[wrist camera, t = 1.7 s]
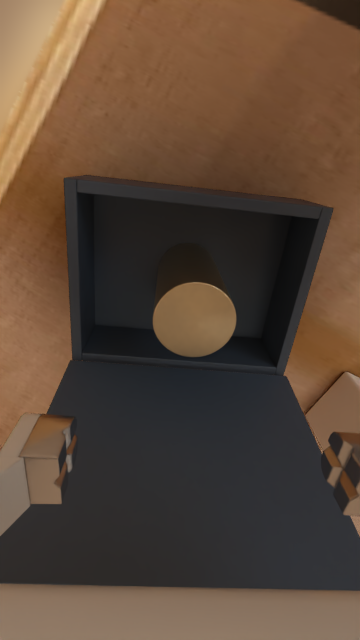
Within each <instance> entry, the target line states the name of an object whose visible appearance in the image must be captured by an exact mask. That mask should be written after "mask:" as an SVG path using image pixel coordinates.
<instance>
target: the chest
mask: <svg viewBox="0 0 360 640" xmlns="http://www.w3.org/2000/svg"><path fill="white" fill-rule="evenodd" d="M64 195H65V216H66V236H67V257H68V278H69V299H70V320H71V340H72V359H73V360H77V361H82V360H83V361H89V362H103V363H116V364H130V365H143V366H157V367H170V368H184V369H197V370H211V371H225V372H238V373H252V374H265V375H278V376H283V375H284V372H285V368H286V365H287V362H288V358H289V355H290V352H291V348H292V345H293V342H294V338H295V335H296V332H297V328H298V325H299V322H300V319H301V315H302V312H303V309H304V305H305V302H306V299H307V295H308V292H309V289H310V285H311V282H312V279H313V275H314V272H315V269H316V266H317V262H318V259H319V256H320V252H321V249H322V246H323V242H324V239H325V236H326V232H327V229H328V226H329V222H330V219H331V216H332V213H333V208H331V207H327V206H323V205H320V204H316V203H312V202H309V201H305V200H301V199H292V198H283V197H275V196H266V195H257V194H248V193H240V192H231V191H222V190H213V189H205V188H196V187H187V186H178V185H170V184H161V183H152V182H144V181H135V180H126V179H117V178H109V177H100V176H91V175H83V176H75V177H67V178H64ZM183 243H192V244H196V245H199V246H201V247H203V248H204V249H206V250H207V251H208V252H209V253H210V255H211V256H212V258H213V260H214V262H215V264H216V267H217V269H218V271H219V273H220V276H221V278H222V280H223V282H224V284H225V287H226V289H227V291H228V293H229V296H230V298H231V300H232V302H233V305H234V307H235V310H236V326H235V330H234V332H233V334H232V336H231V338H230V339H229V341H228V342H227V343H226V344H225V345H224V346H223V347H222V348H220V349H219V350H217V351H216V352H214V353H212V354H209V355H206V356H202V357H184V356H180V355H178V354H175V353H173V352H171V351H170V350H168V349H167V348H166V347H164V346H163V345H162V344H161V342H160V341H159V340H158V338H157V336H156V334H155V332H154V328H153V312H154V303H155V295H156V286H157V277H158V269H159V264H160V261H161V259H162V257H163V255H164V254H165V253H166V252H167V251H168V250H169V249H170V248H172V247H174V246H176V245H178V244H183Z"/></svg>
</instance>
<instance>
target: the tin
mask: <svg viewBox="0 0 360 640" xmlns="http://www.w3.org/2000/svg"><path fill="white" fill-rule="evenodd" d="M235 326H236V310H235V307H234V305H233V302H232V300H231V298H230V296H229V293H228V291H227V289H226V287H225V284H224V282H223V280H222V278H221V276H220V273H219V271H218V269H217V267H216V264H215V262H214V260H213V258H212V256H211V255H210V253H209V252H208V251H207V250H206V249H204V248H203V247H201V246H199V245H196V244H192V243H183V244H178V245H176V246H174V247H172V248H170V249H169V250H168V251H167V252H166V253H165V254H164V255H163V257H162V259H161V261H160V264H159V269H158V277H157V286H156V295H155V303H154V312H153V328H154V332H155V334H156V336H157V338H158V340H159V341H160V342H161V344H162V345H163V346H164V347H166V348H167V349H168V350H170V351H171V352H173V353H175V354H178V355H180V356H184V357H202V356H206V355H209V354H212V353H214V352H216V351H217V350H219V349H220V348H222V347H223V346H224V345H225V344H226V343H227V342H228V341H229V339H230V338H231V336H232V334H233V332H234V330H235Z"/></svg>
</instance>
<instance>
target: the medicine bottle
mask: <svg viewBox="0 0 360 640" xmlns="http://www.w3.org/2000/svg"><path fill="white" fill-rule="evenodd" d="M305 416H306V419H307V421H308V423H309V425H310V426H311V428H312V430H313V432H314V434H315V436H316V438H317V440H318V441H319V443H320V445H321V447H322V449H323V451H324V450H325V449H326V448H328V447H329V446H330V444H329V442H328V439H329V437H330V434H332V433H333V432H351V433H360V378H359V377H357V376H355V375H353V374H351V373H349V372H345V373H343V375H342V376H341V377H340V378H339V379H338V380H337V381H336V382H335V383H334V384H333V385H332V386H331V388H330V389H329V390H328V391H327V392H326V393H325V394H324V395H323V396H322V397H321V398H320V399H319V401H318V402H317V403H316V404H315V405H314V406H313V407H312V408H311V409H310V410H309V411H308V412H307V414H306V415H305Z"/></svg>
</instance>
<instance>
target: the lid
mask: <svg viewBox="0 0 360 640" xmlns="http://www.w3.org/2000/svg"><path fill="white" fill-rule="evenodd" d="M47 414H51V415H63V416H75V417H76V418H77V428H76V431H75V435H76V436H77V437H78V447H77V454H76V460H75V463H74V467H73V470H71V471H70V472H69V473H68V486H67V489H66V492H65V495H64V498H63V501H62V504H30V507H29V508H28V509H27V510H26V511H25V512H24V513H23V514H22V515H21V516H20V517H19V518H18V519H17V520H16V521H15V522H14V523H13V524H12V525H11V526H10V527H9V528H8V529H7V530H6V531H5V532H4V533H3V534H2V535H1V536H0V584H45V585H95V586H145V587H196V588H249V589H300V590H349V591H360V537H359V535H358V533H357V530H356V528H355V526H354V524H353V522H352V519H351V517H350V516H349V515H343V513H342V511H341V509H340V507H339V505H338V503H337V501H336V499H335V497H334V496H333V492H334V487H333V486H331V485H330V484H329V483H328V482H327V481H326V479H325V477H324V475H323V473H322V469H321V456H322V454H321V451H320V449H319V447H318V445H317V443H316V440H315V438H314V436H313V434H312V432H311V429H310V427H309V425H308V423H307V421H306V418H305V416H304V414H303V412H302V410H301V407H300V405H299V403H298V401H297V399H296V396H295V394H294V392H293V390H292V388H291V385H290V383H289V381H288V379H287V377H286V376H278V375H265V374H251V373H237V372H224V371H210V370H197V369H183V368H170V367H156V366H143V365H129V364H115V363H102V362H88V361H75V360H70V362H69V364H68V367H67V369H66V371H65V373H64V376H63V378H62V380H61V382H60V385H59V387H58V389H57V391H56V394H55V396H54V398H53V400H52V403H51V405H50V407H49V409H48V411H47Z"/></svg>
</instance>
